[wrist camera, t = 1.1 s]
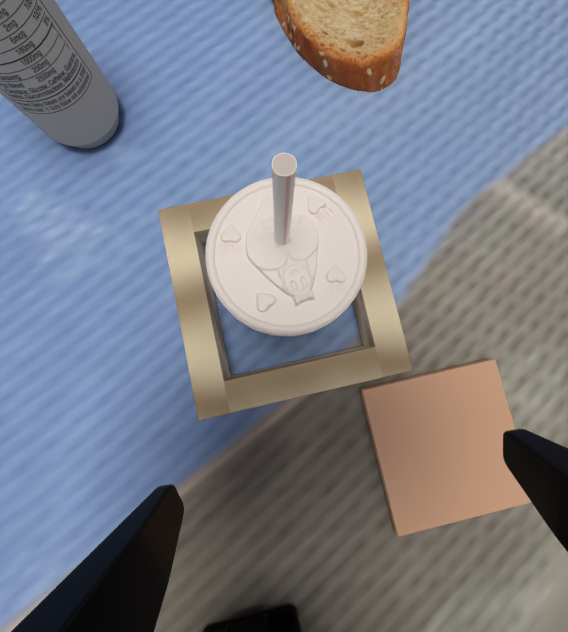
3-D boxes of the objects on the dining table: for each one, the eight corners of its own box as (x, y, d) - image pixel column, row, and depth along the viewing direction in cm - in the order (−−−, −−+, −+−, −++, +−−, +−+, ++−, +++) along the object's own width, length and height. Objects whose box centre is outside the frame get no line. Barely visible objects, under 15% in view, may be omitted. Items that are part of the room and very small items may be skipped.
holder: (395, 366, 19) (412, 370, 17) (209, 409, 19) (198, 420, 16) (350, 190, 20) (360, 169, 18) (173, 226, 20) (158, 209, 17)
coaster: (527, 495, 19) (536, 501, 18) (394, 530, 18) (397, 536, 18) (488, 358, 20) (495, 359, 19) (359, 388, 19) (362, 390, 19)
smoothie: (306, 242, 20) (372, 19, 6) (337, 319, 20) (486, 271, 6) (228, 270, 20) (105, 105, 6) (257, 350, 19) (203, 381, 5)
